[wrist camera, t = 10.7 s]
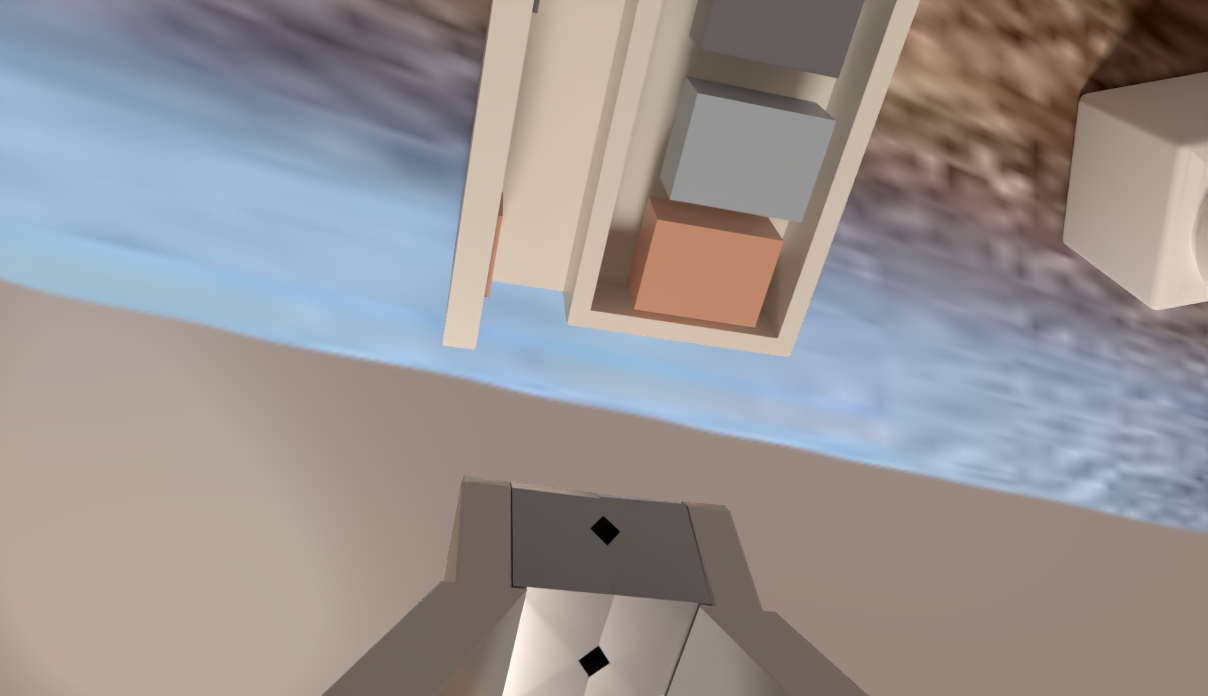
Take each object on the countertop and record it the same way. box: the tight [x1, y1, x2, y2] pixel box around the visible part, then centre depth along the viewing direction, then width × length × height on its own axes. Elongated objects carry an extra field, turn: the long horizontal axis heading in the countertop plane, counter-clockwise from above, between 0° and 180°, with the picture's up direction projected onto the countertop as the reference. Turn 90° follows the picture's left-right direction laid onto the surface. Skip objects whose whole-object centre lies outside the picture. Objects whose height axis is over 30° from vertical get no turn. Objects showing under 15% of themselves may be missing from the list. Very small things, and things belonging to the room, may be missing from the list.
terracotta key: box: [627, 197, 784, 328], centre depth 36 cm, size 5×4×2 cm
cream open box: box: [442, 0, 920, 357], centre depth 34 cm, size 14×17×8 cm
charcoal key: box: [689, 0, 865, 78], centre depth 31 cm, size 5×4×2 cm
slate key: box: [660, 76, 836, 223], centre depth 32 cm, size 5×4×2 cm
